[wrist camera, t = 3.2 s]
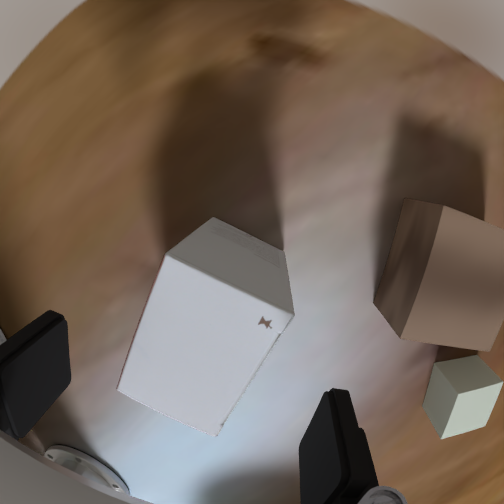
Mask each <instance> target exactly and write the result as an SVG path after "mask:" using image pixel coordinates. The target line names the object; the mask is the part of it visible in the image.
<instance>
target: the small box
mask: <svg viewBox="0 0 504 504" xmlns="http://www.w3.org/2000/svg"><path fill="white" fill-rule="evenodd" d="M294 315H295V313H294V308H293V301H292V295H291V289H290V282H289V276H288V270H287V264H286V258H285V253H284V251H282V250H279V249H277V248H275V247H273V246H271V245H269V244H267V243H265V242H263V241H261V240H259V239H257V238H255V237H253V236H251V235H249V234H247V233H245V232H243V231H241V230H239V229H237V228H235V227H233V226H231V225H229V224H227V223H225V222H223V221H221V220H219V219H217V218H215V217H212V218H211V219H210V220H208V221H207V222H205V223H204V224H203V225H201V226H200V227H199V228H198V229H196V230H195V231H194V232H192V233H191V234H190V235H188V236H187V237H186V238H184V239H183V240H182V241H181V242H179V243H178V244H177V245H176V246H174V247H173V248H172V249H170V250H169V251H168V252H166V253H165V254H164V257H163V260H162V262H161V265H160V267H159V270H158V272H157V275H156V277H155V280H154V282H153V285H152V288H151V290H150V293H149V296H148V298H147V301H146V304H145V306H144V309H143V312H142V314H141V317H140V320H139V323H138V326H137V329H136V331H135V334H134V337H133V340H132V343H131V346H130V349H129V352H128V355H127V357H126V360H125V363H124V366H123V369H122V373H121V376H120V379H119V382H118V385H117V388H116V389H117V390H118V391H119V392H121V393H123V394H125V395H126V396H128V397H130V398H132V399H133V400H135V401H137V402H139V403H141V404H143V405H145V406H147V407H149V408H151V409H153V410H155V411H157V412H159V413H161V414H163V415H165V416H167V417H169V418H172V419H174V420H176V421H178V422H180V423H183V424H185V425H187V426H189V427H192V428H194V429H196V430H199V431H201V432H204V433H206V434H209V435H211V436H214V437H215V436H218V434H219V432H220V431H221V429H222V427H223V425H224V424H225V422H226V420H227V419H228V417H229V416H230V414H231V412H232V411H233V409H234V408H235V406H236V405H237V403H238V402H239V400H240V399H241V397H242V396H243V394H244V393H245V391H246V389H247V388H248V386H249V385H250V383H251V382H252V380H253V378H254V377H255V375H256V374H257V372H258V371H259V369H260V368H261V366H262V364H263V363H264V361H265V360H266V358H267V356H268V355H269V353H270V352H271V350H272V349H273V347H274V346H275V344H276V343H277V341H278V340H279V338H280V337H281V335H282V334H283V333H284V331H285V330H286V328H287V327H288V325H289V324H290V322H291V321H292V319H293V318H294Z"/></svg>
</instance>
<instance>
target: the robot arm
mask: <svg viewBox="0 0 504 504" xmlns="http://www.w3.org/2000/svg"><path fill="white" fill-rule="evenodd" d="M70 381H71V369H70V358H69V344H68V326H67V321H66V320H65V318H64V316H63V315H62V314H59V313H57V312H54V311H52V310H49V311H47V312H45V313H44V314H42V315H41V316H40V317H38V318H37V319H35V320H34V321H32V322H31V323H30V324H28V325H27V326H25V327H24V328H23V329H21V330H20V331H19V332H17V333H16V334H14V335H13V336H12V337H10V338H9V339H8V340H6V341H5V342H3V343H2V344H1V345H0V504H153V503H150V502H147V501H144V500H141V499H138V498H135V497H132V496H130V493H129V491H128V488H127V487H126V485H125V484H124V483H123V481H122V480H121V479H120V478H119V477H118V476H117V475H116V474H115V473H113V472H112V471H111V470H110V469H109V468H107V467H106V466H105V465H103V464H102V463H100V462H99V461H97V460H96V459H94V458H92V457H90V456H89V455H87V454H85V453H82V452H80V451H78V450H75V449H73V448H70V447H66V446H59V445H56V446H51V447H49V448H48V450H47V451H46V452H45V455H44V456H42V455H40V454H39V453H37V452H35V451H33V450H32V449H30V448H28V447H27V446H25V445H23V444H22V443H20V442H18V441H17V440H18V439H19V438H23V437H25V436H26V434H27V433H28V432H29V431H30V430H31V428H32V427H33V426H34V425H35V424H36V422H37V421H38V420H39V419H40V418H41V417H42V415H43V414H44V413H45V412H46V411H47V410H48V408H49V407H50V406H51V405H52V404H53V403H54V401H55V400H56V399H57V398H58V397H59V396H60V395H61V393H62V392H63V391H64V390H65V389H66V388H67V387H68V385H69V384H70ZM299 467H300V494H301V504H407V501H406V499H405V497H404V496H403V495H402V494H401V493H400V492H399V491H397V490H396V489H394V488H391V487H387V486H379V484H378V480H377V476H376V472H375V468H374V465H373V461H372V457H371V453H370V450H369V446H368V442H367V439H366V435H365V432H364V430H363V429H362V428H359V427H358V423H357V419H356V416H355V412H354V408H353V405H352V401H351V397H350V394H349V391H348V390H342V389H335V388H332V389H331V390H330V391H329V392H327V391H326V392H324V394H323V396H322V398H321V401H320V403H319V405H318V407H317V409H316V411H315V414H314V416H313V418H312V420H311V422H310V424H309V426H308V428H307V430H306V432H305V434H304V436H303V438H302V440H301V442H300V446H299Z"/></svg>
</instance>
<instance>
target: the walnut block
mask: <svg viewBox="0 0 504 504" xmlns="http://www.w3.org/2000/svg"><path fill="white" fill-rule="evenodd" d="M373 303H374V305H375V306H376V307H377V309H378V310H379V311H380V312H381V314H382V315H383V316H384V318H385V319H386V320H387V322H388V323H389V324H390V326H391V327H392V328H393V330H394V331H395V332H396V334H397V335H398V337H399V338H400V339H406V340H412V341H418V342H424V343H431V344H437V345H444V346H451V347H458V348H465V349H472V350H480V351H488V352H489V351H490V349H491V347H492V345H493V343H494V341H495V338H496V336H497V334H498V332H499V329H500V327H501V325H502V322H503V320H504V230H503V229H501V228H499V227H496V226H494V225H492V224H489V223H487V222H485V221H482V220H480V219H477V218H475V217H473V216H470V215H468V214H465V213H463V212H460V211H457V210H455V209H452V208H450V207H447V206H444V205H440V204H435V203H429V202H424V201H419V200H413V199H408V198H404V202H403V206H402V210H401V214H400V217H399V221H398V225H397V228H396V232H395V236H394V239H393V243H392V246H391V249H390V253H389V256H388V259H387V263H386V266H385V269H384V272H383V275H382V278H381V281H380V284H379V287H378V290H377V293H376V296H375V299H374V302H373Z"/></svg>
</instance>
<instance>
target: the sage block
mask: <svg viewBox="0 0 504 504" xmlns="http://www.w3.org/2000/svg"><path fill="white" fill-rule="evenodd" d="M502 384H503V381H502V380H501V379H500V378H499V377H498V376H497V375H496V373H495V372H494V371H493V370H492V369H491V368H490V367H489V366H488V365H487V364H486V363H485V362H484V361H483V360H482V359H481V358H480V357H479V356H478V355H474V356H469V357H464V358H458V359H453V360H448V361H442V362H436V363H434V366H433V370H432V374H431V377H430V381H429V385H428V388H427V392H426V395H425V399H424V402H423V405H422V407H423V408H424V410H425V412H426V414H427V415H428V417H429V419H430V421H431V422H432V424H433V426H434V428H435V430H436V431H437V433H438V435H439V437H440V439H444V438H447V437H451V436H454V435H458V434H461V433H465V432H468V431H471V430H474V429H477V428H480V427H483V426H485V425H486V423H487V421H488V418H489V416H490V414H491V412H492V409H493V407H494V404H495V402H496V400H497V397H498V395H499V392H500V390H501V387H502Z"/></svg>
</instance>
